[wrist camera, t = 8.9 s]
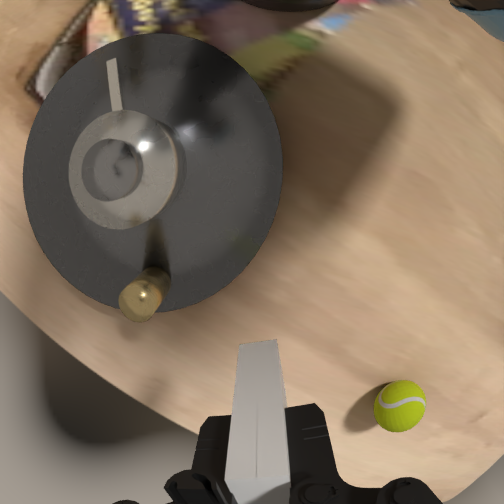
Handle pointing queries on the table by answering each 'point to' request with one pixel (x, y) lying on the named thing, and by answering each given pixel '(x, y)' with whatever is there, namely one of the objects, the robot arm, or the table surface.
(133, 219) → the cover
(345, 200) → the table surface
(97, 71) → the turntable
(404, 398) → the tennis ball
